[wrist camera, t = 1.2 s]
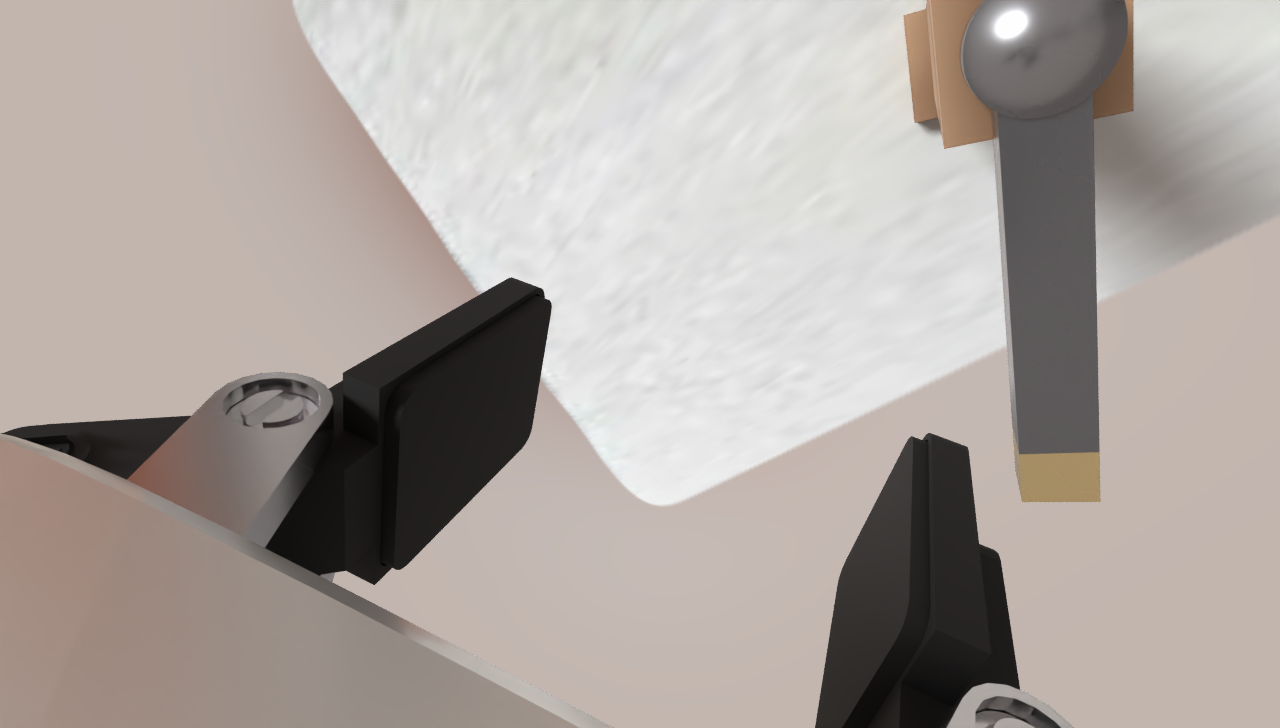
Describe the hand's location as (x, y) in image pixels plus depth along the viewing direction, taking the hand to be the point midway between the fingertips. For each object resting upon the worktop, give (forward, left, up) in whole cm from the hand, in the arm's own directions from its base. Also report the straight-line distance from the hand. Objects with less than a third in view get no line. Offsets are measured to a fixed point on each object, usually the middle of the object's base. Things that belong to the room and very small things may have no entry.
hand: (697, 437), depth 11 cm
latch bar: (-6, +1, -10) cm, 12 cm away
